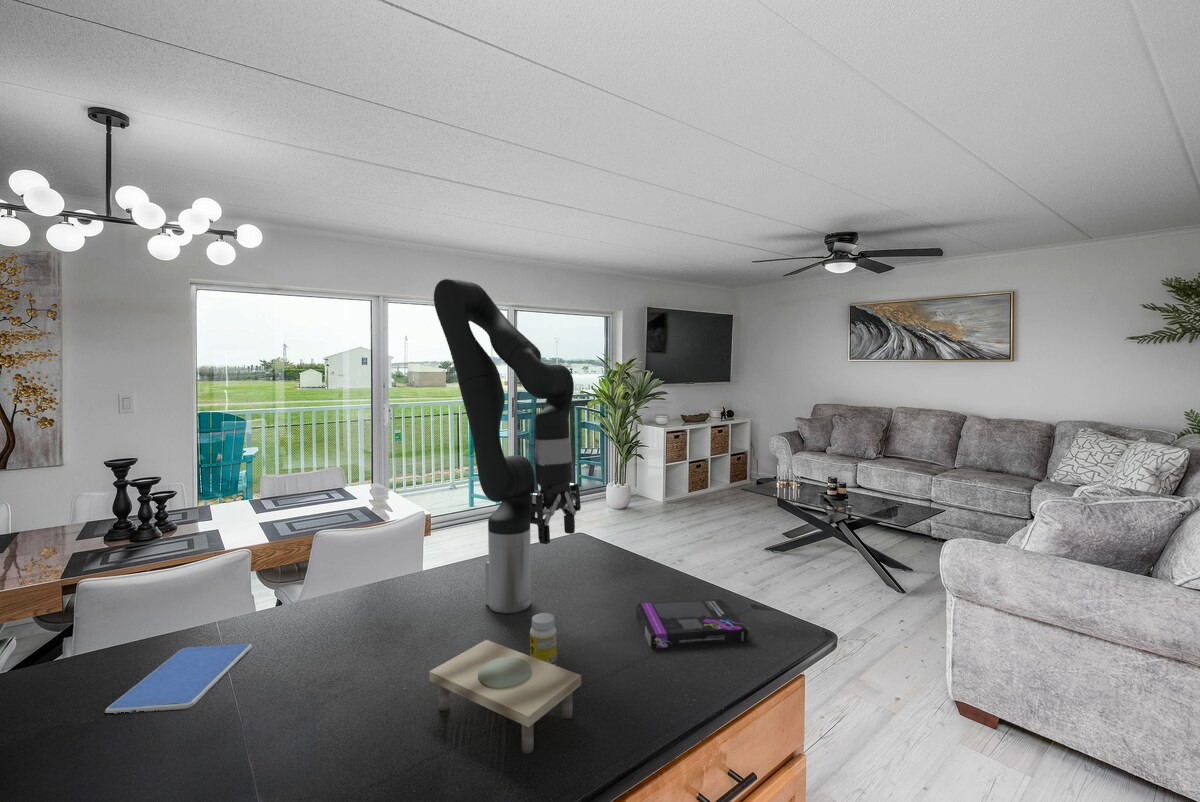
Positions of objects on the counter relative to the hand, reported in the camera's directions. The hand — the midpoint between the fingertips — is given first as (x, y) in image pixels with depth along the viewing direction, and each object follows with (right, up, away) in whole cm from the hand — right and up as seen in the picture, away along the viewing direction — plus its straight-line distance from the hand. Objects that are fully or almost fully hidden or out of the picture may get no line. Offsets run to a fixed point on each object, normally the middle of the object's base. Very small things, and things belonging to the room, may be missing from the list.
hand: (557, 538), depth 114 cm
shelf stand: (-6, -19, -30) cm, 36 cm away
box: (+27, -18, -3) cm, 33 cm away
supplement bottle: (-1, -19, -16) cm, 25 cm away
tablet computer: (-62, -19, -21) cm, 68 cm away
